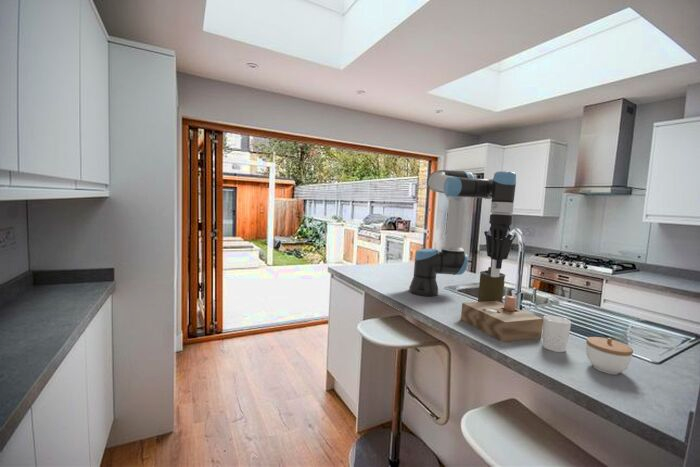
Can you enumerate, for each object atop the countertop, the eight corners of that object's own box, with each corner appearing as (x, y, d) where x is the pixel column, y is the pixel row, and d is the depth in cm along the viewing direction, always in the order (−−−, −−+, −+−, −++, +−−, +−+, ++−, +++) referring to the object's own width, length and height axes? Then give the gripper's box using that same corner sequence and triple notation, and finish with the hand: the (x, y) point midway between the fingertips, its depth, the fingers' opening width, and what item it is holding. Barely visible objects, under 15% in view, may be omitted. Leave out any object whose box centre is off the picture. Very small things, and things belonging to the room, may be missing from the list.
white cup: (540, 341, 114) (543, 313, 114) (567, 347, 110) (570, 318, 110) (540, 348, 108) (543, 319, 107) (568, 355, 104) (572, 325, 103)
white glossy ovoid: (481, 324, 125) (483, 309, 124) (490, 323, 126) (491, 308, 125) (489, 328, 121) (491, 312, 120) (497, 327, 122) (499, 311, 122)
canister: (505, 315, 140) (510, 270, 139) (481, 314, 141) (486, 269, 139) (495, 308, 151) (499, 265, 150) (472, 306, 151) (476, 264, 150)
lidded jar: (580, 367, 96) (583, 337, 95) (587, 357, 103) (590, 328, 102) (627, 383, 88) (632, 350, 87) (631, 370, 96) (635, 340, 95)
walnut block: (460, 319, 132) (462, 302, 132) (495, 316, 138) (496, 300, 138) (503, 341, 112) (505, 322, 111) (541, 337, 118) (543, 318, 117)
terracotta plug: (501, 310, 127) (502, 295, 127) (509, 310, 129) (510, 295, 128) (509, 314, 123) (511, 298, 123) (517, 313, 125) (518, 298, 124)
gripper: (480, 212, 125) (474, 273, 127) (507, 214, 112) (500, 281, 114) (495, 213, 127) (490, 272, 129) (523, 215, 115) (516, 280, 117)
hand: (494, 276), depth 122 cm, fingers closed
